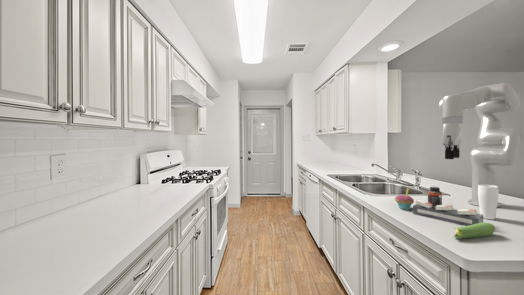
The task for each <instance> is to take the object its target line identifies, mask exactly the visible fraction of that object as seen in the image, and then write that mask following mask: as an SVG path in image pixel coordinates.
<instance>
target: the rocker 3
mask: <svg viewBox="0 0 524 295" xmlns="http://www.w3.org/2000/svg"><path fill="white" fill-rule="evenodd" d="M457 210H458V211H457V212H458V214H466V215H476V214H478V210H477V209H473V208H472V209H470V208H469V209H457Z"/></svg>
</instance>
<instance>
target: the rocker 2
mask: <svg viewBox="0 0 524 295" xmlns="http://www.w3.org/2000/svg"><path fill="white" fill-rule="evenodd" d="M435 208H436V210H452V209H454V206H453V205H452V204H451V205H450V204H447V205H444V204H442V205H437V206H435Z"/></svg>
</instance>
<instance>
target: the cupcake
mask: <svg viewBox="0 0 524 295" xmlns="http://www.w3.org/2000/svg"><path fill="white" fill-rule="evenodd" d="M409 187H410V186H408V187H407V188H406V193H405V194H401V195H400V194H399V195H397V196H395V198H394V201H395V202H396V203H397V205H398V208H399V210H404V211H405V210H410V208H411V206H412V204H414V202H415V201H414V198H412V197H411V196H409V190H410V188H409Z"/></svg>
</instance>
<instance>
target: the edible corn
mask: <svg viewBox="0 0 524 295" xmlns="http://www.w3.org/2000/svg"><path fill="white" fill-rule="evenodd" d="M453 230H455V234H454V236H453V237H454V238H455V240H459V239H460V240H461V239H472V238H479V237H480V238H482V237H489V236H492V234H494V233H495V231H496V227H495V226H494V224H492V223H490V222H485V221H483V223H478V224H473V225H469V226H465V225H463V226H460V227H454V228H453ZM481 236H482V237H481Z"/></svg>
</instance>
